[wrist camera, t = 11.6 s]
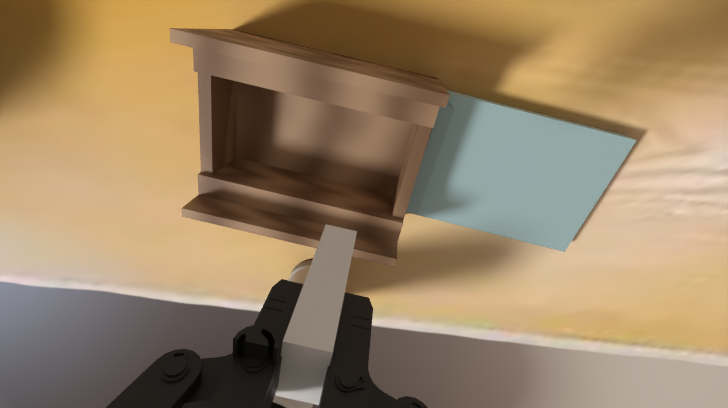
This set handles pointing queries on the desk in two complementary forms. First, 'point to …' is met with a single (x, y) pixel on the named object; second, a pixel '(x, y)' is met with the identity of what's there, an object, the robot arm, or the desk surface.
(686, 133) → the desk surface
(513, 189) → the cover plate
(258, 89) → the box
